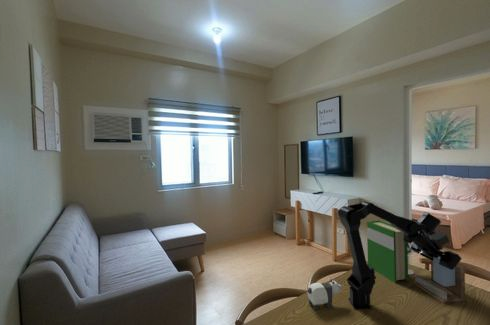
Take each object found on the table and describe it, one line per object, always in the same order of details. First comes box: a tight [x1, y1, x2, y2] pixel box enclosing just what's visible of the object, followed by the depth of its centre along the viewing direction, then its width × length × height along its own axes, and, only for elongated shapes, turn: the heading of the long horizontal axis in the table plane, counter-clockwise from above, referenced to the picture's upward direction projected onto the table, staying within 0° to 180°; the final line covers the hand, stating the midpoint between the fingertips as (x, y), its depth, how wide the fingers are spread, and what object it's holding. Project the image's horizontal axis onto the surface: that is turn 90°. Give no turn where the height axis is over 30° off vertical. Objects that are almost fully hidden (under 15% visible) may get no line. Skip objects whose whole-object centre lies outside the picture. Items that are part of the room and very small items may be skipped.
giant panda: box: [307, 278, 343, 311], centre depth 98 cm, size 15×6×10 cm, turn 101°
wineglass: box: [407, 242, 415, 276], centre depth 122 cm, size 8×8×18 cm
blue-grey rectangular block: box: [433, 256, 455, 286], centre depth 101 cm, size 5×5×10 cm
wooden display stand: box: [414, 260, 466, 304], centre depth 104 cm, size 10×14×13 cm
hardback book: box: [366, 219, 409, 284], centre depth 121 cm, size 18×7×24 cm, turn 12°
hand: (447, 265), depth 101 cm, fingers closed on blue-grey rectangular block, 5 cm apart
